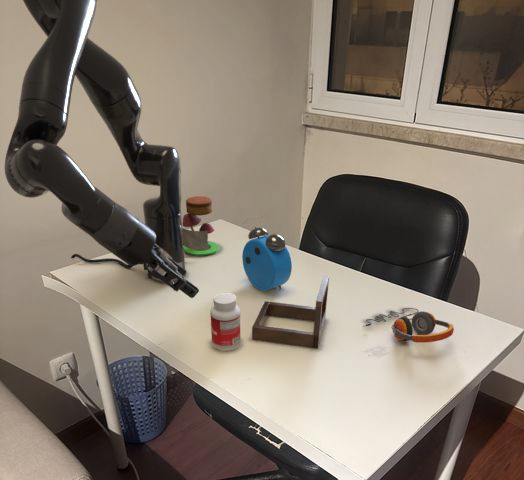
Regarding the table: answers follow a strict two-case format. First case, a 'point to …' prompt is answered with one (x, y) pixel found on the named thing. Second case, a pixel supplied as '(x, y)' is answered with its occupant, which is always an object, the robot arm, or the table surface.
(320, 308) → the wooden frame
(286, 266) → the alarm clock
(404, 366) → the table surface
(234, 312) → the pill bottle
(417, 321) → the headphones
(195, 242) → the multicoloured stacked figure
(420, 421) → the table surface
